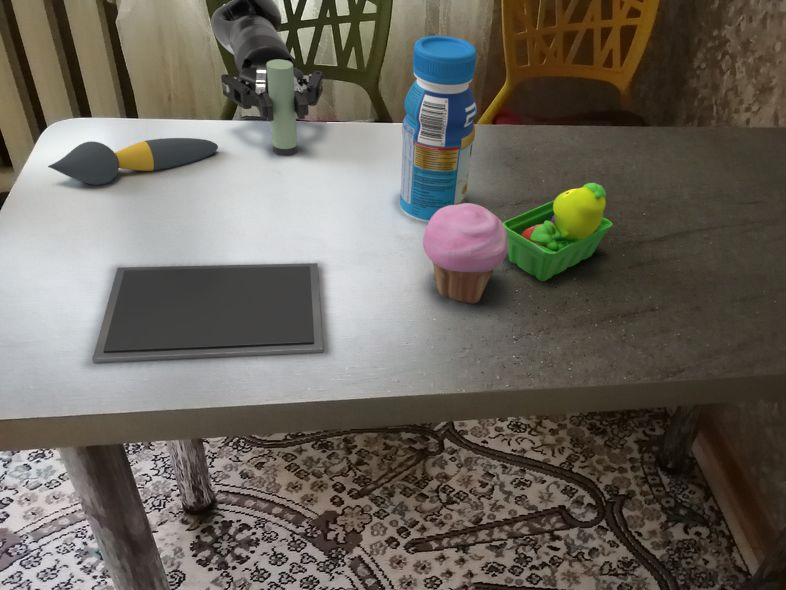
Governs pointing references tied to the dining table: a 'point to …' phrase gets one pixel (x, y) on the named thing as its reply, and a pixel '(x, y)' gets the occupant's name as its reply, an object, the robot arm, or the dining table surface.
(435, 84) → the beverage bottle
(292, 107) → the mint green cylinder
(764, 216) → the dining table surface
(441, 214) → the cupcake
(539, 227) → the fruit basket
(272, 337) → the tablet
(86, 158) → the paintbrush
